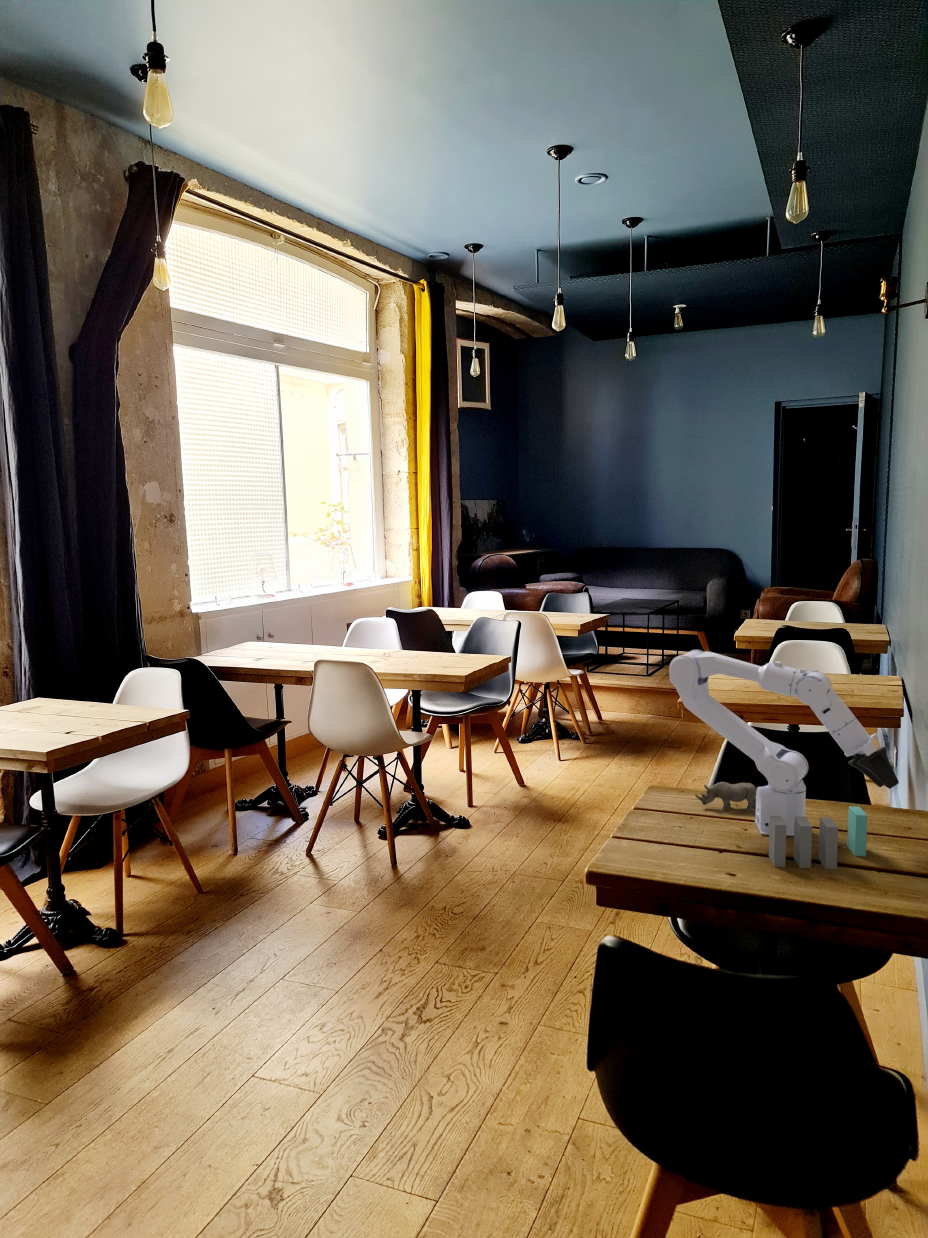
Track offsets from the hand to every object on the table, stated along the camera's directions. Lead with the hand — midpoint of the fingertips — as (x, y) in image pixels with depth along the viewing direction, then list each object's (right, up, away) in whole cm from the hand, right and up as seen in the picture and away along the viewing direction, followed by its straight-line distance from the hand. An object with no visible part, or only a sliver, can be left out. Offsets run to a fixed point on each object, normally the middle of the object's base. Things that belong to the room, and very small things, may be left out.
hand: (889, 785), depth 164 cm
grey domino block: (-14, -14, -5) cm, 20 cm away
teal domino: (-6, -13, 0) cm, 14 cm away
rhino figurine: (-23, -10, +25) cm, 36 cm away
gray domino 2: (-19, -14, -5) cm, 24 cm away
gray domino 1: (-23, -14, -4) cm, 27 cm away
